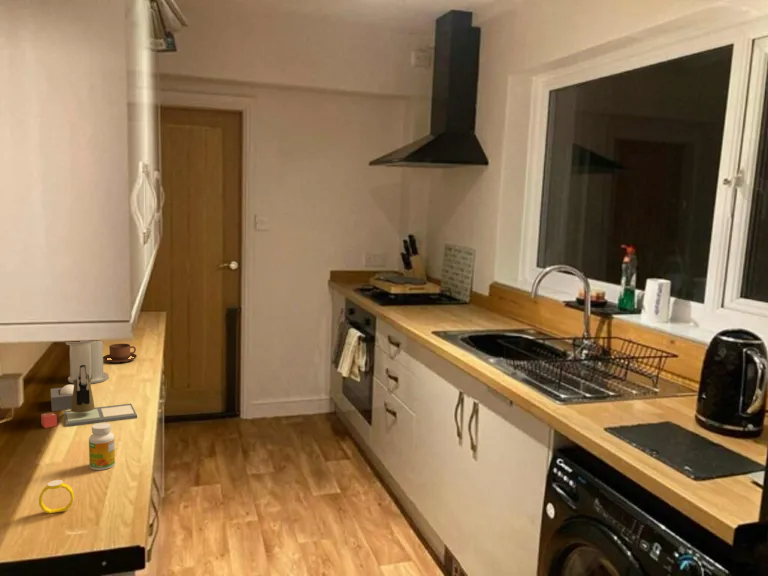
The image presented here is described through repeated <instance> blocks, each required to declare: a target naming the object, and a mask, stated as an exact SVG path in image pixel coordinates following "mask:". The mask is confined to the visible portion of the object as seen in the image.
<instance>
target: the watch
mask: <svg viewBox="0 0 768 576" xmlns="http://www.w3.org/2000/svg"><path fill="white" fill-rule="evenodd" d="M59 488H62V489H65V490H66V491H67V492H68V494H69V495H70V501H69V503H68V504H67V505H66V506H63V507H58V508H57V507H56V508H53V509H52V508H50V507H47V506H46V505H45V503H44V502H43V495H44V493H46V492H47V491H48V490H56V489H59ZM74 498H75V494H74V490H73V488H72V487H71V486H70V485H69V484H67V483H64V481H63V480H61V479H55V480H52V481H49V482H48V483H47V484H46V486H45V487H44V488H42V491H41V493H40V494H39V496H38V506H39V507H40V509H41V510H42V511H43V512H44V513H46V514H49V515H50V514H51V515H52V514H56V513H61V512H67V511H68V509H70V508H71V507H72V504H73V501H74Z"/></svg>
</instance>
